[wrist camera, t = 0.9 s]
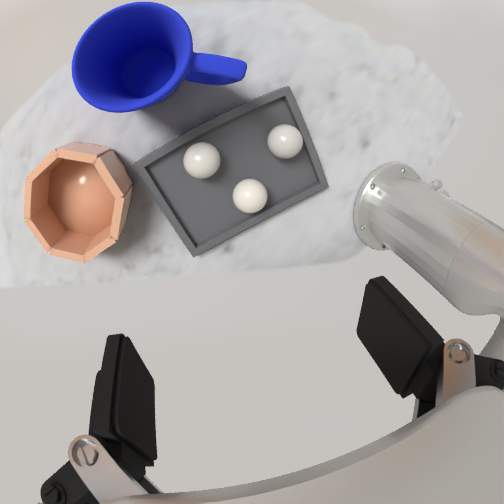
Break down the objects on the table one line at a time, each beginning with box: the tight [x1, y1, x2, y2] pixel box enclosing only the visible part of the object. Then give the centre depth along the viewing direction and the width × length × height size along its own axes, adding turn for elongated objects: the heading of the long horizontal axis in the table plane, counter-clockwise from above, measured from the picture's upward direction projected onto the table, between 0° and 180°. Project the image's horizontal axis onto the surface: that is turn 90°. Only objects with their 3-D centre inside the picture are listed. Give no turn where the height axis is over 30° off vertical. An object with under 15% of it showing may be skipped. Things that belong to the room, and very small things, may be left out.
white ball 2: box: [233, 179, 268, 213], centre depth 27 cm, size 4×4×4 cm
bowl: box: [24, 142, 133, 263], centre depth 23 cm, size 11×11×5 cm
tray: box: [134, 86, 328, 257], centre depth 27 cm, size 17×12×1 cm
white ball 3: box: [267, 124, 303, 159], centre depth 25 cm, size 4×4×4 cm
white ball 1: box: [183, 142, 221, 179], centre depth 25 cm, size 4×4×4 cm
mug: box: [72, 2, 247, 113], centre depth 17 cm, size 8×12×10 cm
